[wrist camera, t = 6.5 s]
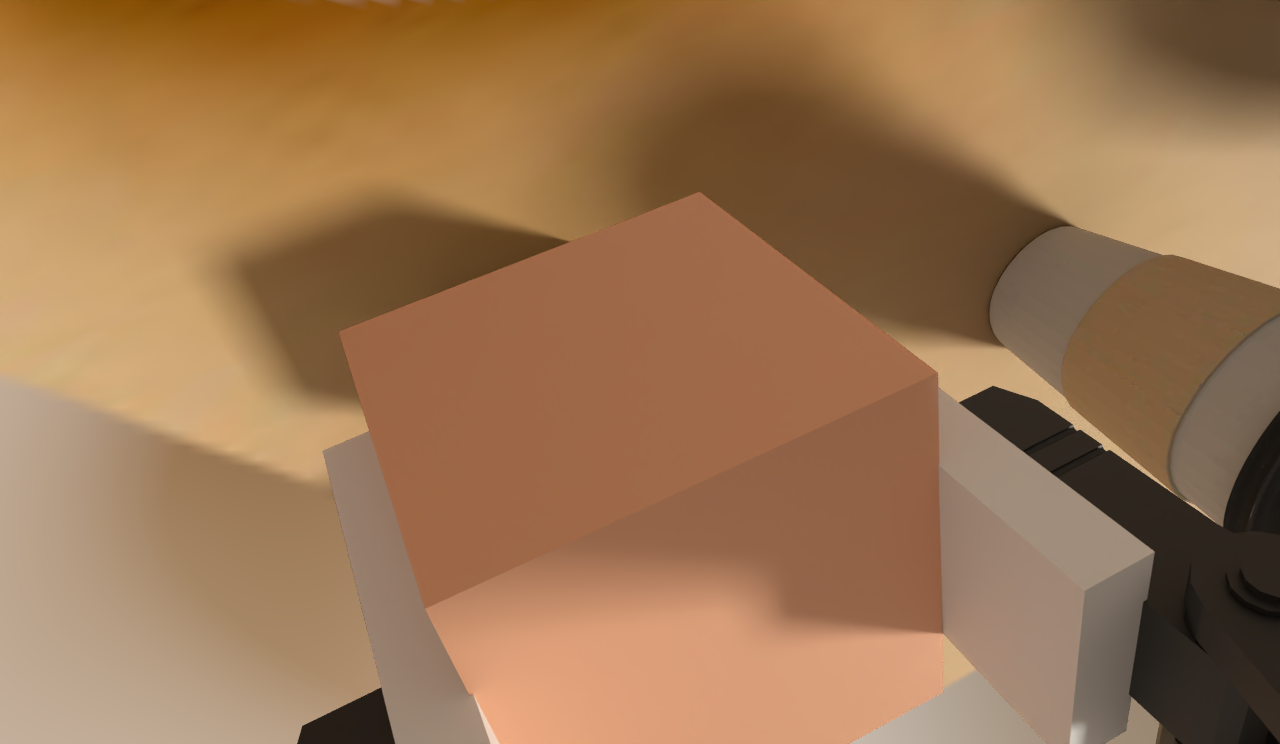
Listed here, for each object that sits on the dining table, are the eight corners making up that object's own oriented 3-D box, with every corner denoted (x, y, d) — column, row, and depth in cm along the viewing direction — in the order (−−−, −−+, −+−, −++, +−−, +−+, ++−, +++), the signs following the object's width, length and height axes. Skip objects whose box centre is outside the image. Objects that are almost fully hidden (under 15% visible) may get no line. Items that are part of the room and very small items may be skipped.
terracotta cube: (699, 191, 13) (937, 372, 9) (748, 464, 16) (943, 692, 12) (338, 331, 12) (425, 609, 8) (463, 596, 15) (572, 894, 11)
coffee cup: (1059, 392, 45) (1376, 602, 33) (918, 371, 40) (1230, 607, 29) (1162, 207, 42) (1557, 367, 30) (1021, 160, 37) (1425, 329, 25)
